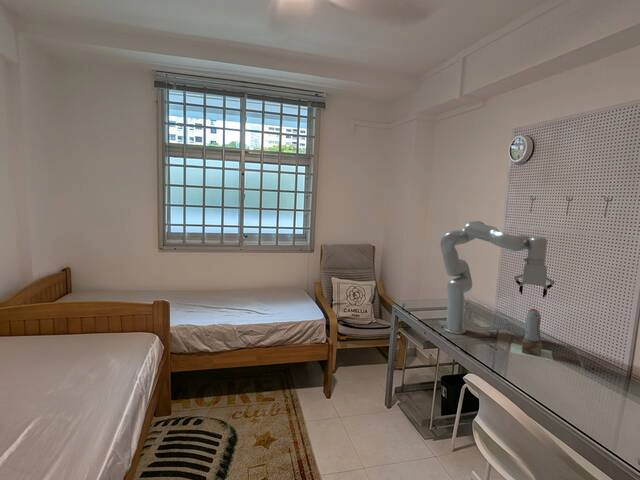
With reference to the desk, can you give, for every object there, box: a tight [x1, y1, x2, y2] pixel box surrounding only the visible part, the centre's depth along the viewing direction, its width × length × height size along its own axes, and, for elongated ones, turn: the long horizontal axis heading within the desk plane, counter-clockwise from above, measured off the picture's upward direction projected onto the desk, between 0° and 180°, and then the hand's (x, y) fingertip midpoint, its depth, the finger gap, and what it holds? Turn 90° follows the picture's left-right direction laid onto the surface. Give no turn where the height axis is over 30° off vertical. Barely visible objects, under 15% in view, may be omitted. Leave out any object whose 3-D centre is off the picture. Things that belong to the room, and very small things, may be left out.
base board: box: [510, 342, 554, 362], centre depth 174 cm, size 18×13×1 cm
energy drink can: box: [524, 309, 542, 342], centre depth 172 cm, size 6×6×15 cm
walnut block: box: [521, 335, 543, 357], centre depth 173 cm, size 8×8×6 cm
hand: (532, 295), depth 171 cm, fingers open, 9 cm apart
